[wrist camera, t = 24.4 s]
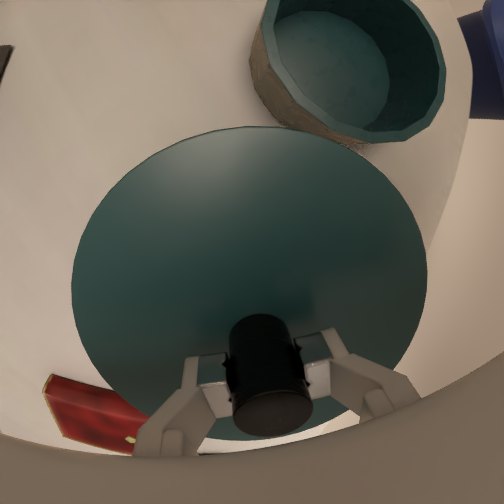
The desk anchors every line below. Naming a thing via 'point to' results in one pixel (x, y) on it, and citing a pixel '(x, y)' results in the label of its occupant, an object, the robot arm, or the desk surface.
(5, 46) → the computer monitor
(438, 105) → the pot
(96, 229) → the lid
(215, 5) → the desk surface
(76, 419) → the hardcover book
